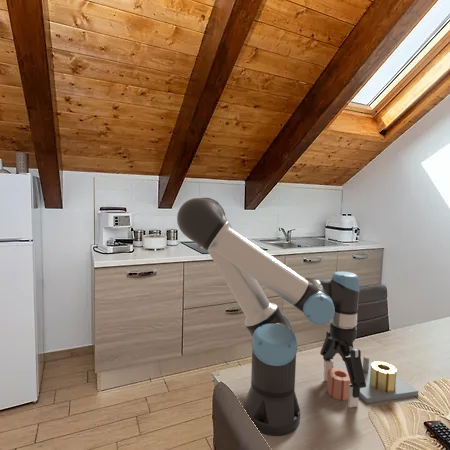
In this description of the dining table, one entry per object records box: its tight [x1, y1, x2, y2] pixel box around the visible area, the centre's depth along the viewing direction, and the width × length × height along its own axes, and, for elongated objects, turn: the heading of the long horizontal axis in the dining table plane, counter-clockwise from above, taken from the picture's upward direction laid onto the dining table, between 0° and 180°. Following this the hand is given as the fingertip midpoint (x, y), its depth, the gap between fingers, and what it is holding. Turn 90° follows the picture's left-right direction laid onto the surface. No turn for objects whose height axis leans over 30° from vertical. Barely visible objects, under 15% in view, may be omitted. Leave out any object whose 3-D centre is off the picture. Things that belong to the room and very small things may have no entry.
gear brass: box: [370, 360, 398, 393], centre depth 99 cm, size 7×7×6 cm
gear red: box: [326, 368, 351, 401], centre depth 97 cm, size 7×7×6 cm
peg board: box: [333, 355, 419, 404], centre depth 103 cm, size 18×18×6 cm
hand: (339, 392), depth 97 cm, fingers open, 12 cm apart
